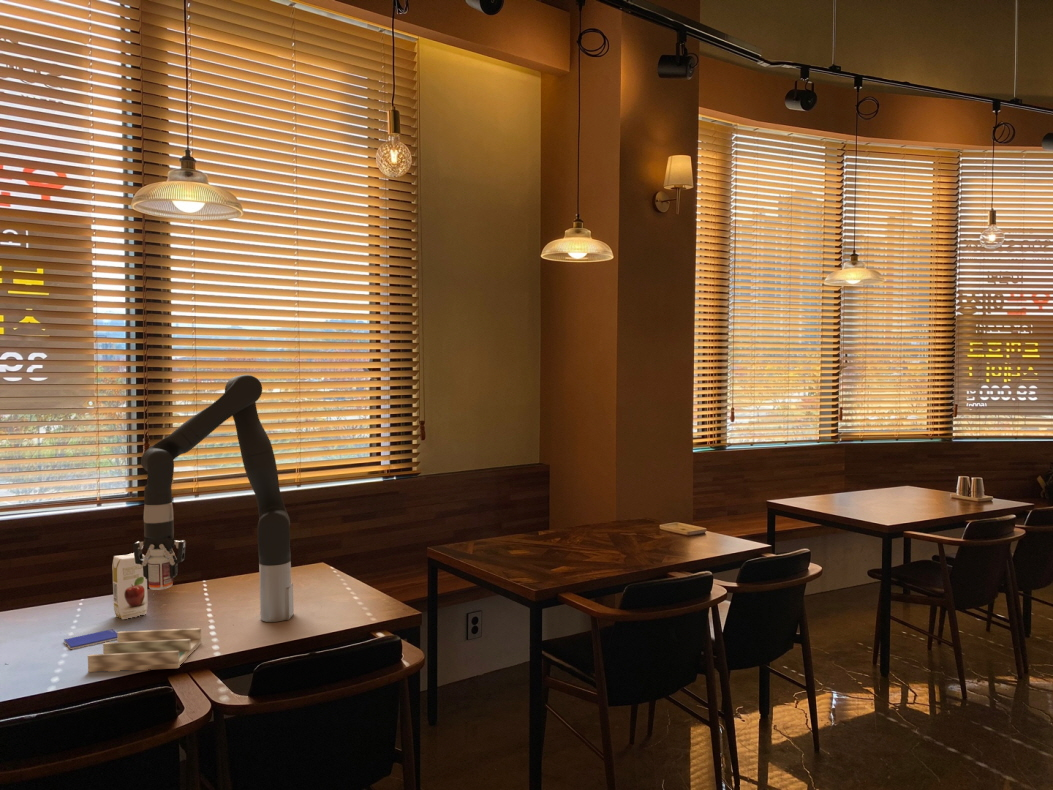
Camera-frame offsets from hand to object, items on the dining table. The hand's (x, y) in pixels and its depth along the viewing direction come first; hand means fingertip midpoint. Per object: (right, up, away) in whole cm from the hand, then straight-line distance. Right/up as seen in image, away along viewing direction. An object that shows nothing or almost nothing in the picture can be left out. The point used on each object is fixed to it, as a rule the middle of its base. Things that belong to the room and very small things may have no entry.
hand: (160, 577), depth 218 cm
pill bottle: (0, -3, 0) cm, 3 cm away
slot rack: (+3, -18, -13) cm, 22 cm away
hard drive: (-20, -19, +1) cm, 27 cm away
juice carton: (-20, -17, +23) cm, 35 cm away
